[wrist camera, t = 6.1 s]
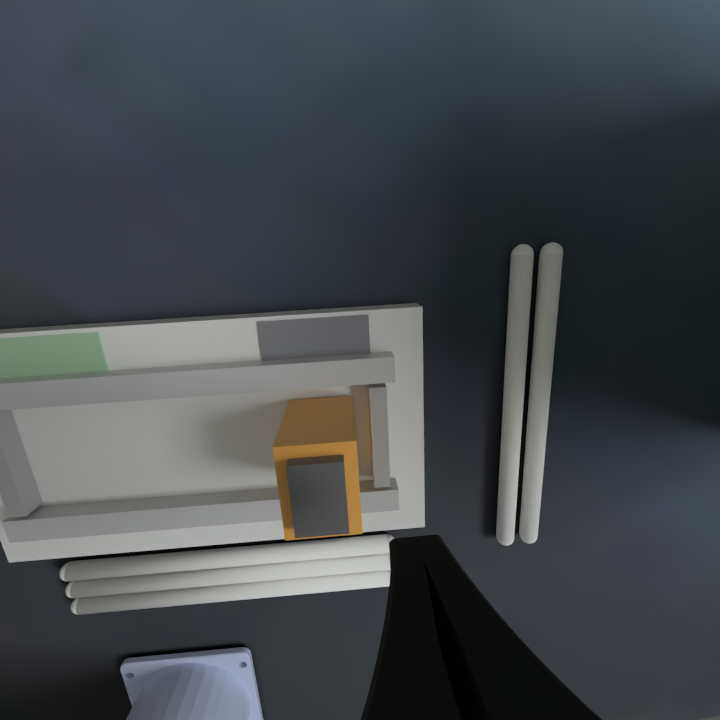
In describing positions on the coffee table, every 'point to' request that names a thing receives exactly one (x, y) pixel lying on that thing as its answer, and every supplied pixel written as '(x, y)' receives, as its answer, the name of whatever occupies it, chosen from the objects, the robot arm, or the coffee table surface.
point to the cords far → (227, 574)
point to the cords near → (537, 393)
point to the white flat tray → (197, 425)
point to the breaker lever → (318, 469)
